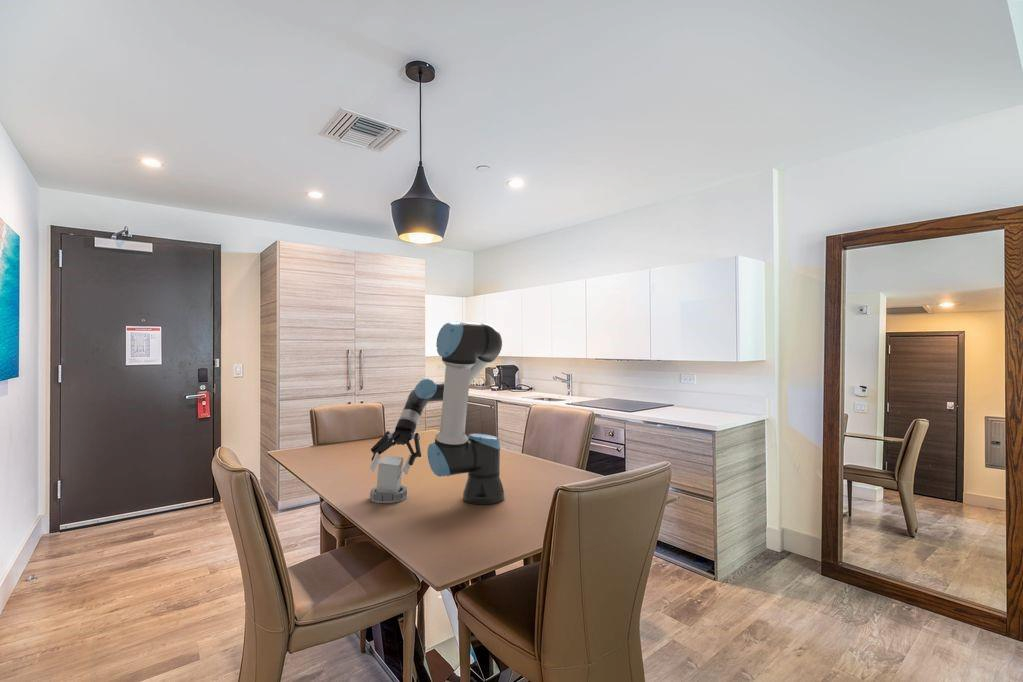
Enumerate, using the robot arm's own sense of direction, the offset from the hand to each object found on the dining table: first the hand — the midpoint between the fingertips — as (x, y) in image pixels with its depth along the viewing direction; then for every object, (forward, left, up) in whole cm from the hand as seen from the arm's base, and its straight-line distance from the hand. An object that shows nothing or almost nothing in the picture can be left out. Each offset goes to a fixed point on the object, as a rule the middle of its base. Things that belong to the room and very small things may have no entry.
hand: (388, 471), depth 176 cm
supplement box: (0, 0, -8) cm, 8 cm away
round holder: (0, 0, -10) cm, 10 cm away
